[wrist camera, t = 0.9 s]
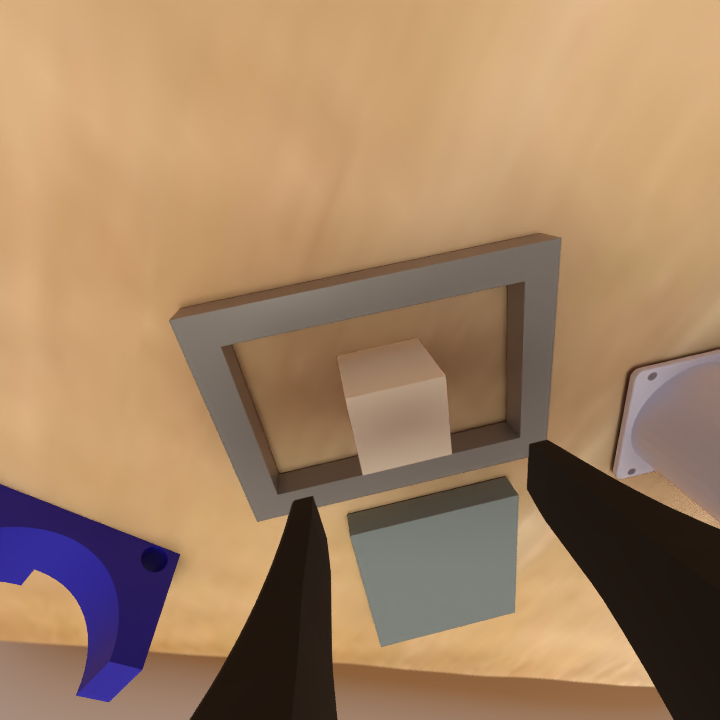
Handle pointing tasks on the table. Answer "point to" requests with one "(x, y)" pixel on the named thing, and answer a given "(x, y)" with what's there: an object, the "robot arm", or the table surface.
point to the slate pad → (438, 559)
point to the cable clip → (91, 582)
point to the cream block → (396, 405)
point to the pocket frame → (360, 298)
